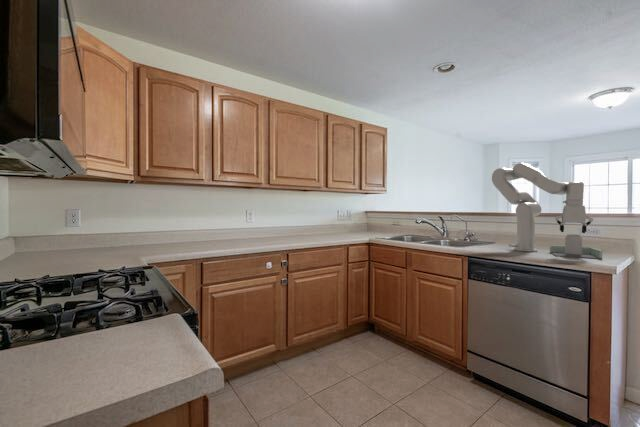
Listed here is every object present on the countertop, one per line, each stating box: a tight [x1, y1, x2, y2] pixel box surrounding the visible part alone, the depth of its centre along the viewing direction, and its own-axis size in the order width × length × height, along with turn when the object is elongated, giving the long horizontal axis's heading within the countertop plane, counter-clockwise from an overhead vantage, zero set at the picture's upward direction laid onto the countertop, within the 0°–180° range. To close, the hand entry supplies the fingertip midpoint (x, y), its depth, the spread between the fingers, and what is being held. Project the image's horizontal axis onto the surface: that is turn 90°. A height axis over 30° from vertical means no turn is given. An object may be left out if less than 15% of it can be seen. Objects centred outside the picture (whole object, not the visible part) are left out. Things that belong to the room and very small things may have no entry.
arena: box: [549, 245, 603, 260], centre depth 173 cm, size 20×16×5 cm
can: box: [564, 233, 583, 256], centre depth 173 cm, size 8×8×12 cm
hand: (572, 232), depth 173 cm, fingers open, 9 cm apart
